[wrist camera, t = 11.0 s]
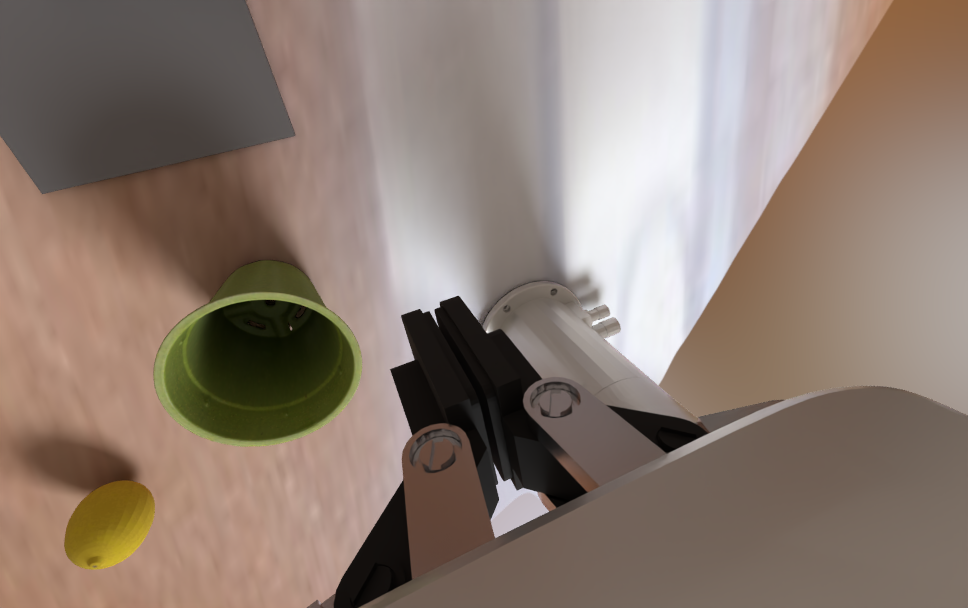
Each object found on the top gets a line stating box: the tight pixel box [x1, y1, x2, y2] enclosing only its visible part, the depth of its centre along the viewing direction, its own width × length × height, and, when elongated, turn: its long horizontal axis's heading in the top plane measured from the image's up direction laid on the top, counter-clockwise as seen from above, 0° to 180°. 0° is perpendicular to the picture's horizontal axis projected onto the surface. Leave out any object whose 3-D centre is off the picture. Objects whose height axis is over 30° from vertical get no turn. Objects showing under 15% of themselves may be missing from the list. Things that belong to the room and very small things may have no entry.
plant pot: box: [154, 260, 362, 447], centre depth 33 cm, size 12×12×11 cm
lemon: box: [64, 480, 155, 570], centre depth 36 cm, size 6×6×8 cm
